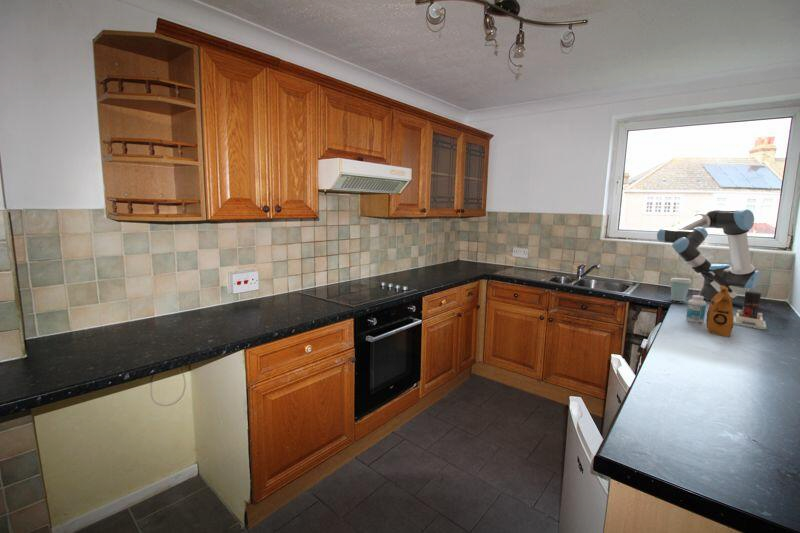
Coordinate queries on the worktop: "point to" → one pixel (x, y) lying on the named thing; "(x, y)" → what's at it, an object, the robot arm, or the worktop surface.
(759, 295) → the deodorant
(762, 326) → the cream square open box
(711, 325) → the coffee package
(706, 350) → the worktop surface
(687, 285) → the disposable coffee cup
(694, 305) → the pill bottle
